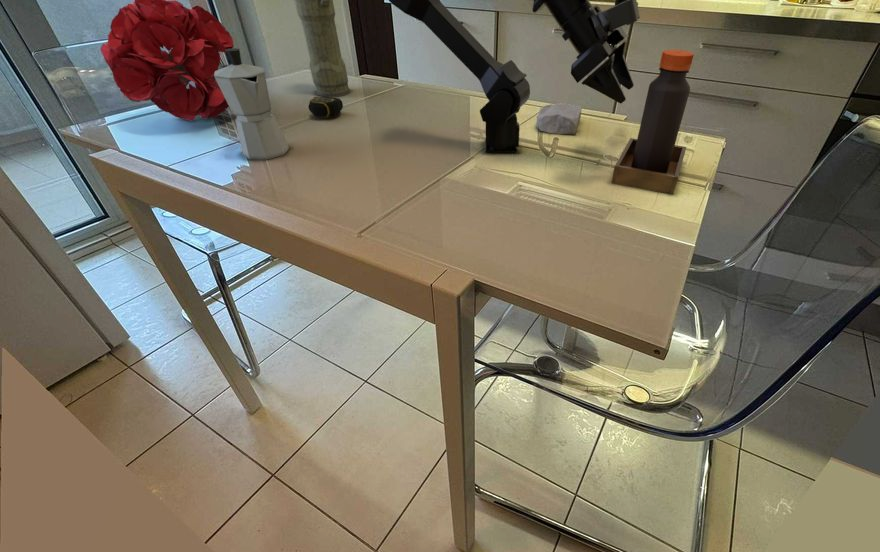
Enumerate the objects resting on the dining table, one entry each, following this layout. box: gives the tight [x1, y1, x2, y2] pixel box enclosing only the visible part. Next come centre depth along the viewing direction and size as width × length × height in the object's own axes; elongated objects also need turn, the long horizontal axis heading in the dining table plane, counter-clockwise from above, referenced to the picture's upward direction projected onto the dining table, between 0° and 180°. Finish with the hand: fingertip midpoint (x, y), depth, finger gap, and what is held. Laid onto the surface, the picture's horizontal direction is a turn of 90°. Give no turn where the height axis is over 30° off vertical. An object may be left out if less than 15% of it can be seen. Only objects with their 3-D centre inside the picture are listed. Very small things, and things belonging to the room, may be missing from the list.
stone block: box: [536, 102, 583, 135], centre depth 103 cm, size 12×5×10 cm
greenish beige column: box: [294, 0, 350, 98], centre depth 109 cm, size 9×12×35 cm
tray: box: [611, 137, 687, 195], centre depth 84 cm, size 11×15×3 cm
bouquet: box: [99, 0, 235, 122], centre depth 99 cm, size 22×24×30 cm
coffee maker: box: [214, 47, 290, 161], centre depth 83 cm, size 15×9×18 cm, turn 47°
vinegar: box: [631, 49, 695, 174], centre depth 78 cm, size 7×7×20 cm
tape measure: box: [308, 96, 344, 119], centre depth 104 cm, size 7×7×4 cm
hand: (627, 94), depth 78 cm, fingers open, 9 cm apart
